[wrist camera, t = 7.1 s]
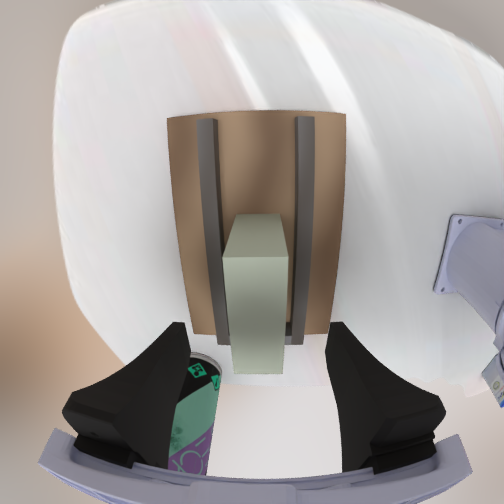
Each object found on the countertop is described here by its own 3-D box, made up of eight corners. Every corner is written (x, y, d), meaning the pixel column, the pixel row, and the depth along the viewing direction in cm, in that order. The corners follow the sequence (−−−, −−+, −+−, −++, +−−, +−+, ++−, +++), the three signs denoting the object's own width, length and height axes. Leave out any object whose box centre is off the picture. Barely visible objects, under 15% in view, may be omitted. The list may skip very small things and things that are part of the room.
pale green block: (279, 213, 19) (288, 256, 12) (278, 309, 22) (282, 373, 16) (236, 214, 19) (222, 257, 12) (241, 309, 22) (234, 373, 16)
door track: (341, 115, 17) (354, 111, 14) (325, 325, 24) (331, 347, 21) (172, 119, 17) (157, 117, 15) (196, 325, 25) (189, 347, 22)
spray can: (203, 390, 29) (174, 546, 11) (164, 367, 28) (113, 528, 9) (232, 370, 27) (210, 553, 9) (189, 344, 26) (136, 538, 7)
